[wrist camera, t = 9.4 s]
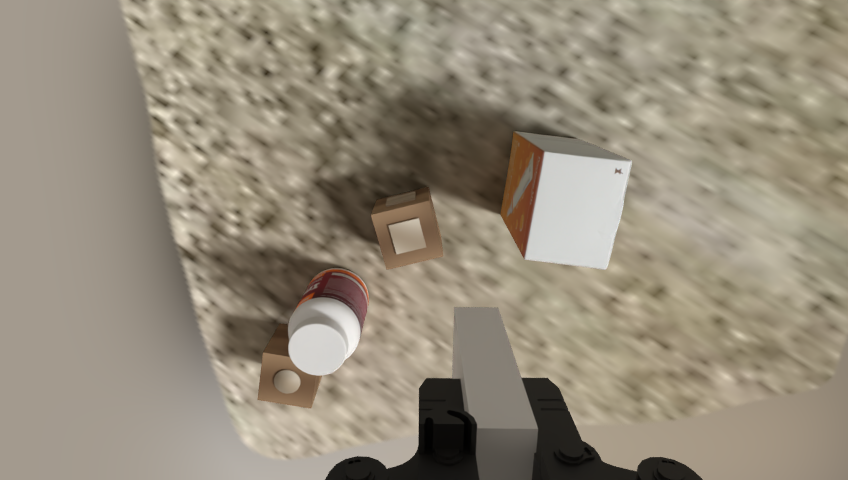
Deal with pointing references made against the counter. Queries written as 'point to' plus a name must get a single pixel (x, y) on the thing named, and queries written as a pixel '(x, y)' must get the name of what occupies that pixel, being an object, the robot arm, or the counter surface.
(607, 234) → the small box
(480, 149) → the counter surface
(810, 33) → the counter surface
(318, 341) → the pill bottle
